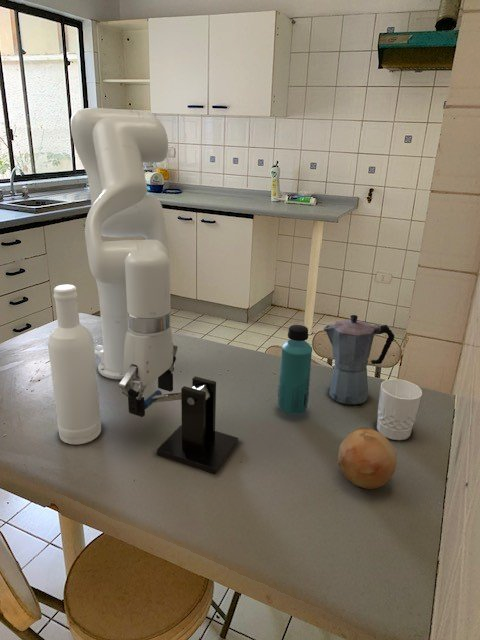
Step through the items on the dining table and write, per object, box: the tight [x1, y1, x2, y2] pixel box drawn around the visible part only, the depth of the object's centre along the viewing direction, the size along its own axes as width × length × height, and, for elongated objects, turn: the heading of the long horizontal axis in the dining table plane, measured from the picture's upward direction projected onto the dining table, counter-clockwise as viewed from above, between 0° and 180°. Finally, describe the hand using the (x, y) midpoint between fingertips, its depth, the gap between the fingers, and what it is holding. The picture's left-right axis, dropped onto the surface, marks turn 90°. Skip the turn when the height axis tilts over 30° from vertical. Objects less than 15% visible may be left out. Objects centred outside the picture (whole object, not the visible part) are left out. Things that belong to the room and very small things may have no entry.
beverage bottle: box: [277, 324, 313, 415], centre depth 97 cm, size 6×7×20 cm
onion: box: [337, 426, 398, 490], centre depth 79 cm, size 10×10×10 cm
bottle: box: [47, 283, 102, 445], centre depth 85 cm, size 8×8×30 cm
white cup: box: [376, 378, 423, 441], centre depth 93 cm, size 8×8×10 cm
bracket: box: [156, 376, 239, 475], centre depth 85 cm, size 12×10×14 cm
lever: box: [144, 384, 210, 410], centre depth 86 cm, size 13×5×2 cm, turn 66°
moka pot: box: [322, 314, 395, 405], centre depth 104 cm, size 10×15×20 cm, turn 88°
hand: (151, 401), depth 89 cm, fingers open, 9 cm apart
